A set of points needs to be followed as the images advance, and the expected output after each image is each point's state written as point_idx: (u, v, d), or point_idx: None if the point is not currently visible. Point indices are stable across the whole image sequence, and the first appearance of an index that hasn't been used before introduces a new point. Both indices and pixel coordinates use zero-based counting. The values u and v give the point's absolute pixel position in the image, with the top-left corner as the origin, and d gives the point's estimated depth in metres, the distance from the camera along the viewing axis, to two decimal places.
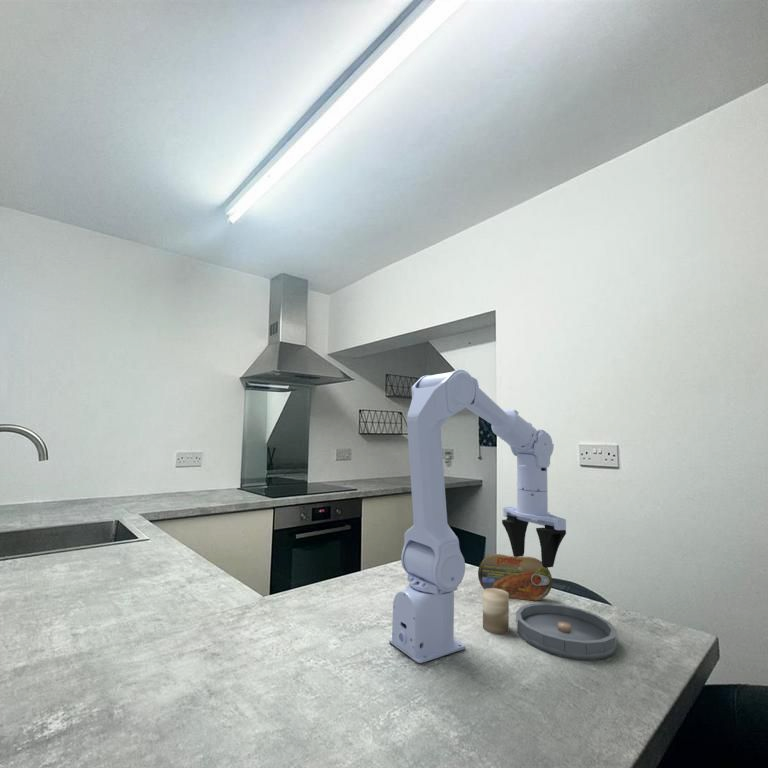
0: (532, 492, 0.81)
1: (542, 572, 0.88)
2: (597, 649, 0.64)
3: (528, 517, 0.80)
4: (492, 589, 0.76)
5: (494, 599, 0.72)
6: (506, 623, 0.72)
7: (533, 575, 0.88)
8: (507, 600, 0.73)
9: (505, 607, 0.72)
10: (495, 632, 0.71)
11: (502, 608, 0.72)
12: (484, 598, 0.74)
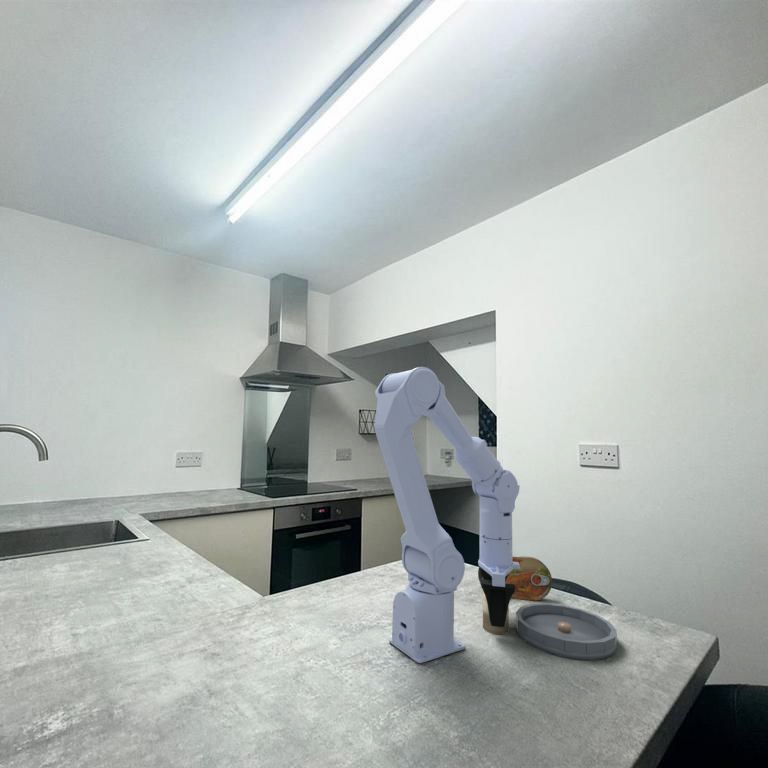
0: (484, 539, 0.74)
1: (542, 572, 0.88)
2: (597, 649, 0.64)
3: (480, 566, 0.74)
4: None
5: None
6: (506, 623, 0.72)
7: (533, 575, 0.88)
8: None
9: None
10: (495, 632, 0.71)
11: None
12: (484, 598, 0.74)
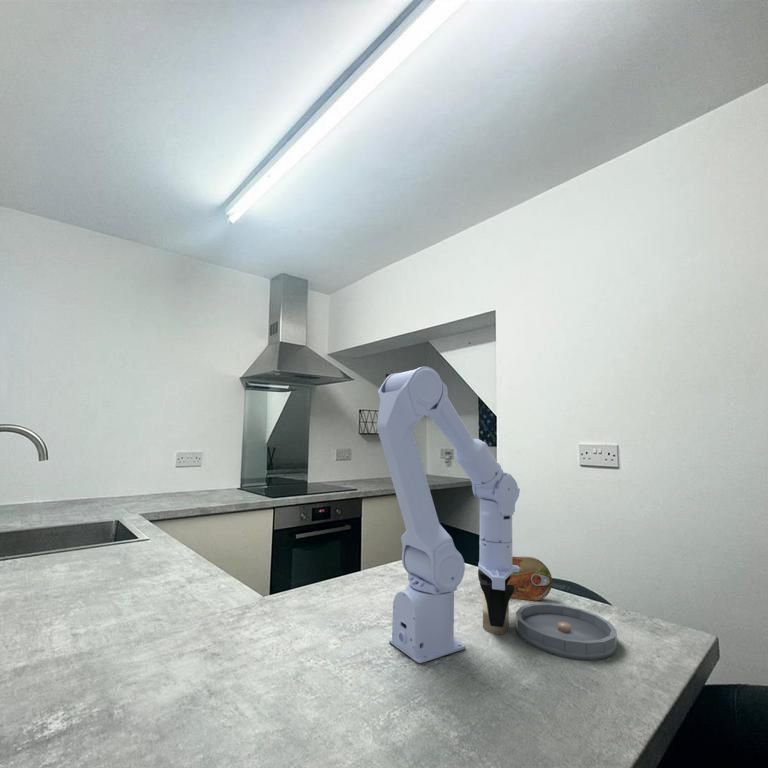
0: (484, 542, 0.74)
1: (542, 572, 0.88)
2: (597, 649, 0.64)
3: (480, 569, 0.74)
4: None
5: None
6: (506, 623, 0.72)
7: (533, 575, 0.88)
8: None
9: None
10: (495, 632, 0.71)
11: None
12: (484, 598, 0.74)
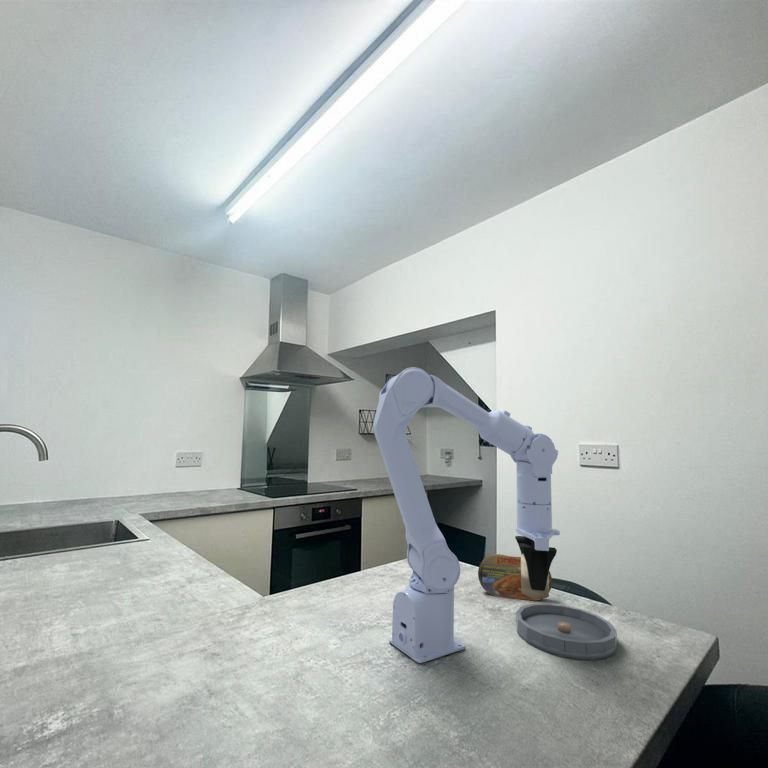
0: (523, 505, 0.72)
1: None
2: (597, 649, 0.64)
3: (519, 532, 0.71)
4: None
5: None
6: (546, 587, 0.70)
7: None
8: None
9: None
10: (535, 596, 0.69)
11: None
12: (523, 562, 0.71)
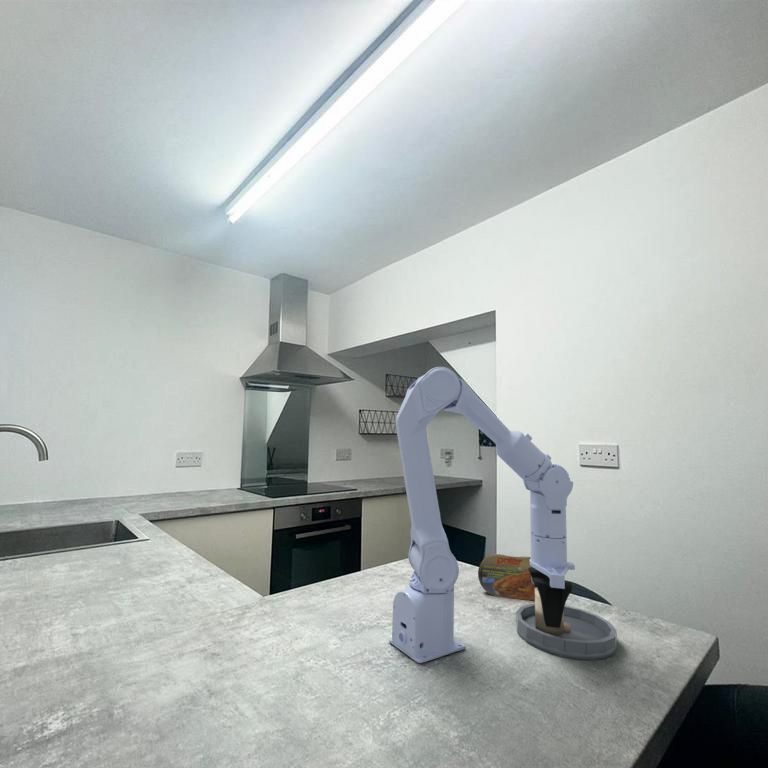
0: (538, 537, 0.70)
1: None
2: (597, 649, 0.64)
3: (533, 566, 0.70)
4: None
5: None
6: (561, 623, 0.68)
7: None
8: None
9: None
10: (550, 633, 0.67)
11: None
12: (537, 597, 0.70)
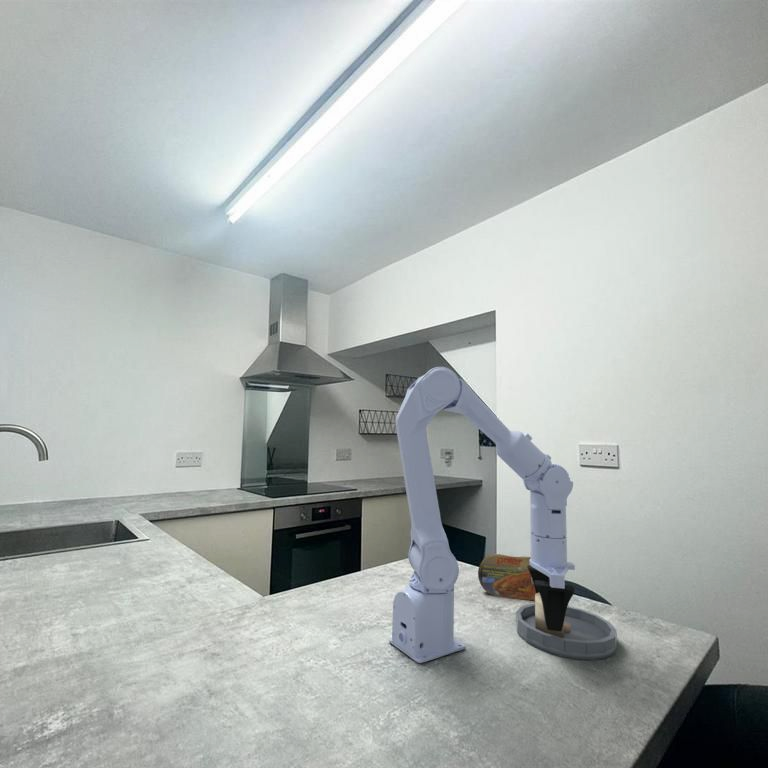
0: (538, 537, 0.70)
1: None
2: (597, 649, 0.64)
3: (533, 566, 0.70)
4: None
5: None
6: (562, 630, 0.68)
7: None
8: None
9: None
10: None
11: None
12: (537, 603, 0.69)
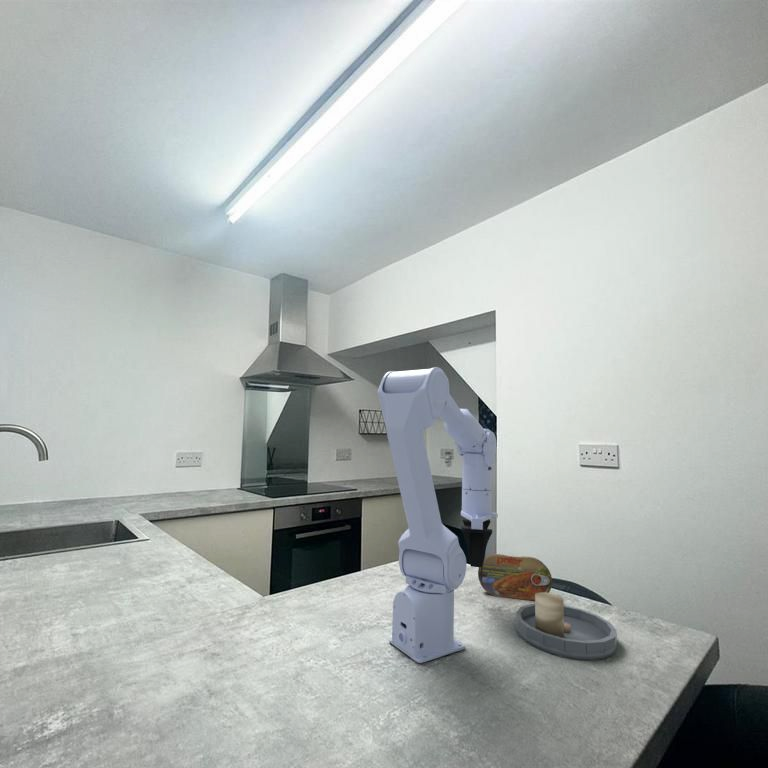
0: (466, 490, 0.82)
1: (542, 572, 0.88)
2: (597, 649, 0.64)
3: (462, 515, 0.82)
4: (544, 593, 0.72)
5: (548, 604, 0.68)
6: (562, 630, 0.68)
7: (533, 575, 0.88)
8: (562, 605, 0.69)
9: (560, 612, 0.68)
10: None
11: (558, 614, 0.68)
12: (537, 603, 0.69)
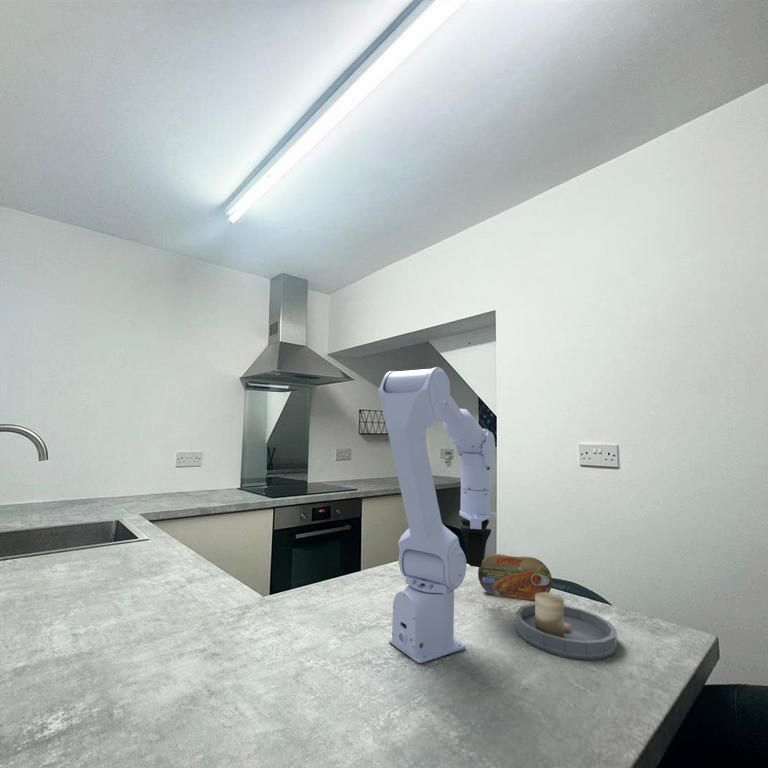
0: (465, 490, 0.82)
1: (542, 572, 0.88)
2: (597, 649, 0.64)
3: (461, 515, 0.82)
4: (544, 593, 0.71)
5: (548, 604, 0.68)
6: (562, 630, 0.68)
7: (533, 575, 0.88)
8: (562, 605, 0.69)
9: (560, 612, 0.68)
10: None
11: (558, 614, 0.68)
12: (537, 603, 0.69)
